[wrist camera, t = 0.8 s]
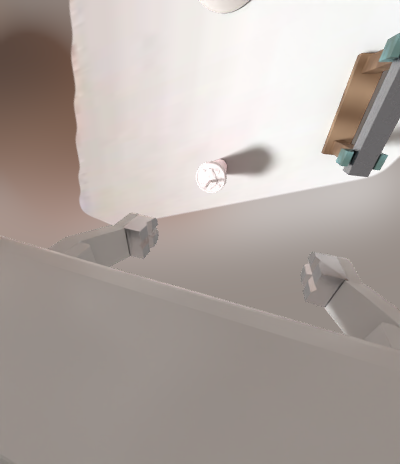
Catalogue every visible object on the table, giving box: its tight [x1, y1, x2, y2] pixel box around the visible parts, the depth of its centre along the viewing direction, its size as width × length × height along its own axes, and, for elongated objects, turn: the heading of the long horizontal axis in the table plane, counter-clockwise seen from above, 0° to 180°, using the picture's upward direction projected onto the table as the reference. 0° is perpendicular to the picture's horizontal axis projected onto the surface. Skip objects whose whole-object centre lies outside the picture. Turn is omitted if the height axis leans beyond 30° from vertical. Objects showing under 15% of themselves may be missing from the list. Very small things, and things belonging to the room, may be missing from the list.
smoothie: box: [196, 159, 227, 193], centre depth 41 cm, size 6×6×14 cm
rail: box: [343, 55, 400, 177], centre depth 24 cm, size 16×2×2 cm, turn 177°
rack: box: [322, 33, 400, 170], centre depth 29 cm, size 15×5×14 cm, turn 177°
